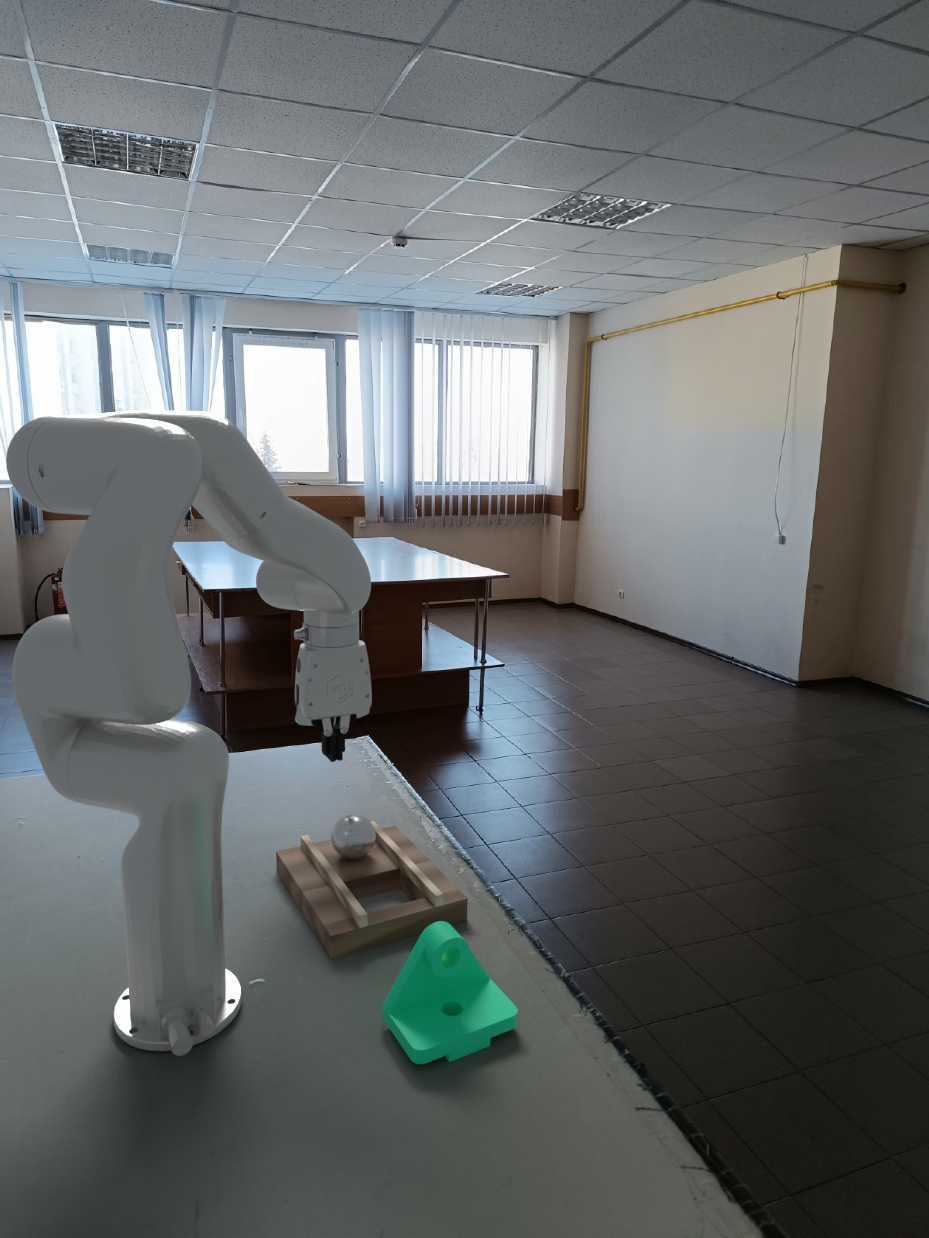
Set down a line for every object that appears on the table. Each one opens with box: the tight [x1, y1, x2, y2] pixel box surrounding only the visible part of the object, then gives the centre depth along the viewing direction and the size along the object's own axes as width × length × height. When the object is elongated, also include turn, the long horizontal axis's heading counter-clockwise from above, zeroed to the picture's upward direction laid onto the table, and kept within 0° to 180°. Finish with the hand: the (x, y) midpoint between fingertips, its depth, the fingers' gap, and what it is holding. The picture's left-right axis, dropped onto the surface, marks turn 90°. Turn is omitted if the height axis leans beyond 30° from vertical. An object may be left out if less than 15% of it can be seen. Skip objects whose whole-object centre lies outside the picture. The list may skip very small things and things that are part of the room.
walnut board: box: [275, 820, 469, 960], centre depth 107 cm, size 22×18×4 cm
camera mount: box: [381, 921, 519, 1065], centre depth 82 cm, size 12×8×10 cm, turn 120°
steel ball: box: [330, 813, 376, 860], centre depth 110 cm, size 6×6×6 cm
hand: (333, 757), depth 116 cm, fingers closed
